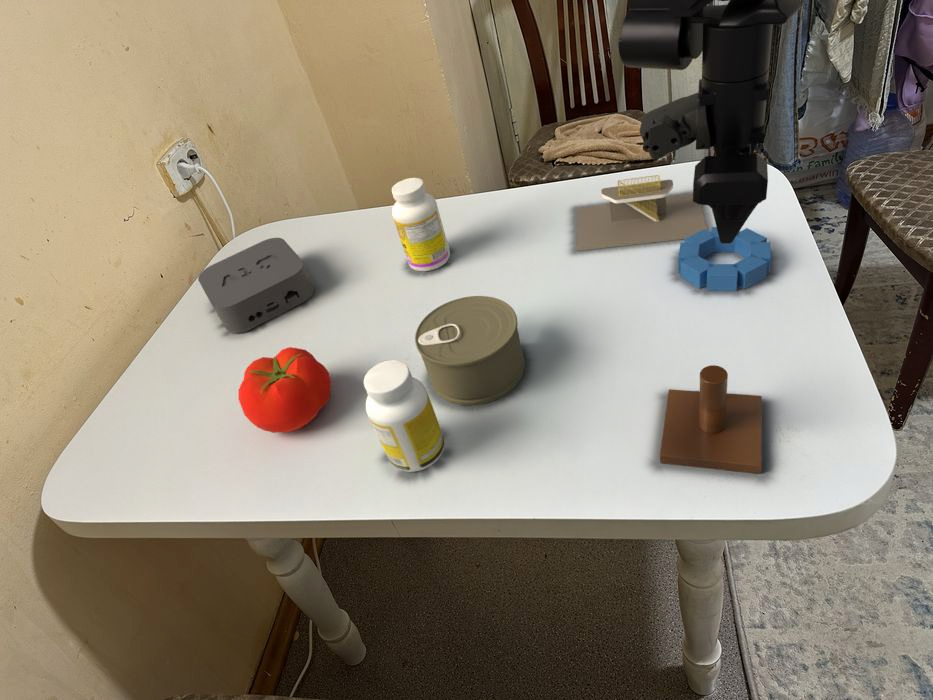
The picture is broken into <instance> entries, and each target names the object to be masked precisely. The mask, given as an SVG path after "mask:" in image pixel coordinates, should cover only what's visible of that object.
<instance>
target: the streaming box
mask: <svg viewBox="0 0 933 700" xmlns="http://www.w3.org/2000/svg"><path fill="white" fill-rule="evenodd" d="M197 280H198V282H199V285H200V286H201V288H202V290H203V291H204V294H205V295H206V297H207V299H208V301H209V303H210V305H211V306H212V308H213V309H214V311H215V313H216V315H217V316H218V318H219V320H220V321H221V323H222V325H223V327H224V328H225V330H226V331H227V332H228V333H230V334H242V333H244V332H247V331H250V330H251V329H254V328H256V327H257V326H259V325H262V324H263V323H265V322H267V321H269V320H271V319H273V318H275V317H277V316H279V315H280V314H283V313H285V312H287V311H288V310H289V311H290V309H291V310H292V309H293V308H294V307H297V306H299V305H301V304H302V303H304V302H306V301H307V300H309V299H311V297H312V296H313V295H314V293H315V285H314V283H313V281H312V279H311V277H310V275H309V272H308V270H307V268H306V265H305V264H304V260H303V259H302V258H300V256H299V255H298V254H297V253H296V252H295V250H294V249H293V248H292V247H291V246H290V244H288V243H287V242H286V240H285V239H284V238H281V237H271V238H267V239H264V240H262V241H260V242H257V243H256V244H253V245H251V246H249V247H247V248H245V249H242V250H241V251H239V252H236V253H235V254H232V255H230V256H228V257H226V258H223V259H221V260H219V261H217V262H216V263H213V264H211V265H209V266H208V267H205V269H204V270H202V271H201V272H200V274H199V275H198V277H197Z"/></svg>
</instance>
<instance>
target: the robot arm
mask: <svg viewBox="0 0 933 700" xmlns="http://www.w3.org/2000/svg"><path fill="white" fill-rule="evenodd" d="M713 1H714V0H628V11H627V12H626V14H625V15H624V19H623V21H622V25H621V32H620V37H619V38H618V40H617V41H618V45H617V46H618V53H619V54H618V55H619V58H620V60H621V63H622V64H623V65H624V66H625V67H627V68H635V69H655V70H672V71H673V70H675V71H684V70H686V69H688V67H689V66H690V65H691V64H692V62H693V60H695V59H698V58H699V57H700V56H701V78H699V79H698V92H695V93H692V94H690V95H688V96H683V97H680V98H677V99H675V100H673V101H670V102H668V103H666V104H664V105H661V106H659V107H656V108H654V109H652V110H649V111H648V112H646V113H645V114H644V115H643V116H642V119H641V122H640V127H639V131H638V132H639V134H640V136H641V139H642V143H643V144H642V150H643V152H645V153H648V154H649V156H650V158H651V159H652V160H657V159H660V158H664V156H665V155H668V154H670V153H673V152H676V151H679V150H680V149H681V148H684V147H687V146H689V145H691V144H693V143H694V142H695V150H696V151H697V150H699V151H700V150H709V149H710V148H711V150H713V151H714V152H715V155H705V156H704V157H703V158H702V159H701V160H700V161H699V162H698V163H696V164H695V165H694V173H693V181H692V194H693V202H695V203H697V204H701V206H708V207H709V208H710V209H711V212H712V216H713V217H714V223H715V227H717V231H718V235H719V239H720V243H722V244H729V243H732V242H733V240H734V239H735V237H736V236H737V234H738V233H739V231H741V229H742V228H743V226H744V225H745V224H746V222H747V221H748V219H749V218H750V216H751V215H752V213H753V212H754V210H755V209H756V208H757V207H758V205H759V204H761V203H762V202H764V201H766V200H767V195H768V185H769V174H768V173H769V172H768V161H767V160H766V159H764V158H763V157H762V156H761V155H759V154H758V153H755V150H756V148H757V146H758V145H759V144H761V145H762V144H765V138H766V137H765V135H766V126H765V125H766V124H765V122H766V121H765V120H766V119H765V118H766V109H767V101H768V100H769V91H770V88H769V73H770V62H771V53H772V52H771V49H772V39H773V28H774V25H785V24H786V23H787V22H788V21H789V20H791V18H792V17H794V15H795V14H797V13H798V12H799V11H800V10H801V9H802V2H801V1H800V0H718V1H720V2H728V3H726V4H717V5H713V4H712V5H709V4H711V3H712V2H713Z"/></svg>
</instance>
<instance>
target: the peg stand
mask: <svg viewBox="0 0 933 700" xmlns="http://www.w3.org/2000/svg"><path fill="white" fill-rule="evenodd" d="M728 379H729V374H728V371H727V370H726V369H725V368H724V367H722V366H721V365H714V364H713V365H712V364H711V365H707V366H704V367H703V368H701V370H700V372H699V390H684V389H683V390H682V389H670V388H669V389H668V392H667V399H666V406H665V412H664V413H665V414H664V422H663V429H662V436H661V442H660V451H659V463H660V464H665V465H676V466H685V467H693V468H701V469H702V468H703V469H710V470H711V469H712V470H721V471H731V472H738V473H749V474H756V475H757V474H758V475H761V473H762V466H763V465H762V464H763V463H762V462H763V461H762V460H763V458H762V457H763V454H762V453H763V440H762V439H763V422H762V421H763V396H762V395H757V394H756V395H755V394H741V393H728V382H729V381H728Z"/></svg>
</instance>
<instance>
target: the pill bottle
mask: <svg viewBox="0 0 933 700" xmlns="http://www.w3.org/2000/svg"><path fill="white" fill-rule="evenodd" d="M363 386H364V389H365V391H366V393H367V397H366V401H365V411H366V414H367V417H368V419H369V420H370V423H371V425H372V427H373V430H374V431H375V433H376V436H377V437H378V440H379V443H380V444H381V447H382V448H383V450H384V452H385V454H386V457H387V459H388V461H389V462H390V464H391V465H392V466H393V467H394V468H396V469H397V470H400V471H403V472H408V473H410V472H411V473H412V472H413V473H415V472H419V471H422V470H425V469H427V468H429V467H431V466H432V465H434V464H435V463H436V462H437V461H438V460H439V459H440V457H441V456H442V455H443V452H444V450H445V443H446V442H445V437H444V433H443V431H442V428H441V426H440V422H439V420H438V418H437V415H436V412H435V408H434V407H433V403H432V401H431V398H430V396H429V393H428V390H427V388H426V386H425V385H424V384H423V382H422V381H421V380H419V379H418V378H416V377H413V375H412V373H411V371H410V368H409V366H408V365H407V364H406V363H405V362H403V361H401V360H398V359H391V360H390V359H389V360H384V361H382V362H379V363H377V364H375V365H374V366H372V367H371V368H370V369H369V370H368V371H367V372H366V374H365V375H364V378H363Z"/></svg>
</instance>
